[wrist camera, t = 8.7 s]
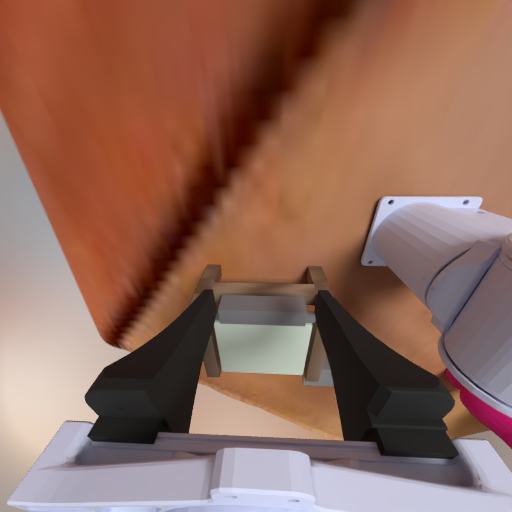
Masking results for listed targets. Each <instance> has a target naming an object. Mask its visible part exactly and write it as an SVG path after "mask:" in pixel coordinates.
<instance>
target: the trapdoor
mask: <svg viewBox="0 0 512 512" xmlns="http://www.w3.org/2000/svg"><path fill="white" fill-rule="evenodd" d="M315 321H316V318H315V313H308V312H307V308H306V303H305V299H304V297H286V296H246V295H222V298H221V301H220V305H219V308H218V310H217V313H216V318H215V323H214V328H215V334H216V339H217V345H218V350H219V356H220V361H221V367H222V371H224V372H246V373H268V374H290V375H303V371H304V366H305V361H306V356H307V351H308V346H309V341H310V336H311V331H312V326H313V325H312V323H315Z"/></svg>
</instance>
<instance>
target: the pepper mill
mask: <svg viewBox="0 0 512 512" xmlns="http://www.w3.org/2000/svg"><path fill="white" fill-rule="evenodd" d="M445 374H446V377H447V378H448V379H449V381H450V382H451V383H452V385H453V386H454V387H456V388H458V389H460V399H461V401H462V403H463V405H464V406H465V407H466V408H467V409H468V411H469V412H470V413H471V414H472V415H473V416H474V417H476V418H477V419H478V420H479V421H480V422H481V423H483V424H484V425H485V426H486V427H488V428H489V429H490V430H491V431H493V432H494V433H495V434H496V435H498V436H499V437H500V438H501V439H502V440H503V441H504V442H505V443H506V444H507V445H508V446H509V447H510V448H511V449H512V418H511V417H508V416H507V415H505V414H503V413H501V412H499V411H498V410H496V409H494V408H493V407H491V406H490V405H488V404H486V403H485V402H483V401H482V400H481V399H479V398H478V397H477V396H475V395H474V394H473V393H471V392H470V391H469V390H468V389H467V388H465V387H464V386H463V385H462V384H461V383H460V382H459V381H458V380H457V379H456V378H455V377H454V376H453V375H452V374H451V372H450V371H449V370H448V369H447V370H446V373H445Z"/></svg>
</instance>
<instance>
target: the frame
mask: <svg viewBox="0 0 512 512" xmlns="http://www.w3.org/2000/svg"><path fill="white" fill-rule="evenodd" d="M221 276H222V274H221V266H220V265H208V266H207V268H206V270H205V272H204V274H203V276H202V278H201V280H200V282H199V284H198V286H197V288H196V291H195V293H194V295H193V297H192V299H191V301H190V303H189V306H190V305H191V303H192V302H193V301H194V300H195V299H196V298H197V297H198V296H199V295H200V293H201V292H202V291H203V290H204V289H213V292H214V298H215V302H220V301H221V298H222V295H246V296H286V297H304V299H305V303H306V305H315V306H316V300H317V294H318V290H328V291H329V292H330V293H331V295H332V296H333V293H332V291H331V289H330V286H329V284H328V282H327V279H326V277H325V275H324V272H323V270H322V268H321V267H313V266H308V270H307V280H308V284H280V283H234V282H219V281H220V279H221ZM333 297H334V296H333ZM312 325H313V326H312V331H311V336H310V341H309V346H308V351H307V356H306V361H305V366H304V375H305V381H309V382H318V381H319V378H320V374H321V371H322V367H323V364H324V360H325V356H326V352H325V349H324V346H323V343H322V340H321V337H320V333H319V330H318V327H317V323H316V321H315V323H313V324H312ZM203 362H204V365H205V369H206V373H207V377H220V373H221V368H222V367H221V361H220V356H219V350H218V345H217V339H216V334H215V328H214V327H213V330H212V333H211V336H210V339H209V342H208V345H207V348H206V351H205V354H204V358H203Z"/></svg>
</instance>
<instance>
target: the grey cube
mask: <svg viewBox="0 0 512 512" xmlns="http://www.w3.org/2000/svg"><path fill="white" fill-rule="evenodd" d="M302 382H303V385H305V386H327V387H333V379H332V374H331V370H330V365H329V362H328V358H327V355H326V356H325V360H324V364H323V367H322V371H321V374H320V378H319V381H318V382H309V381H305V375H304V371H303V375H302Z"/></svg>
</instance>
